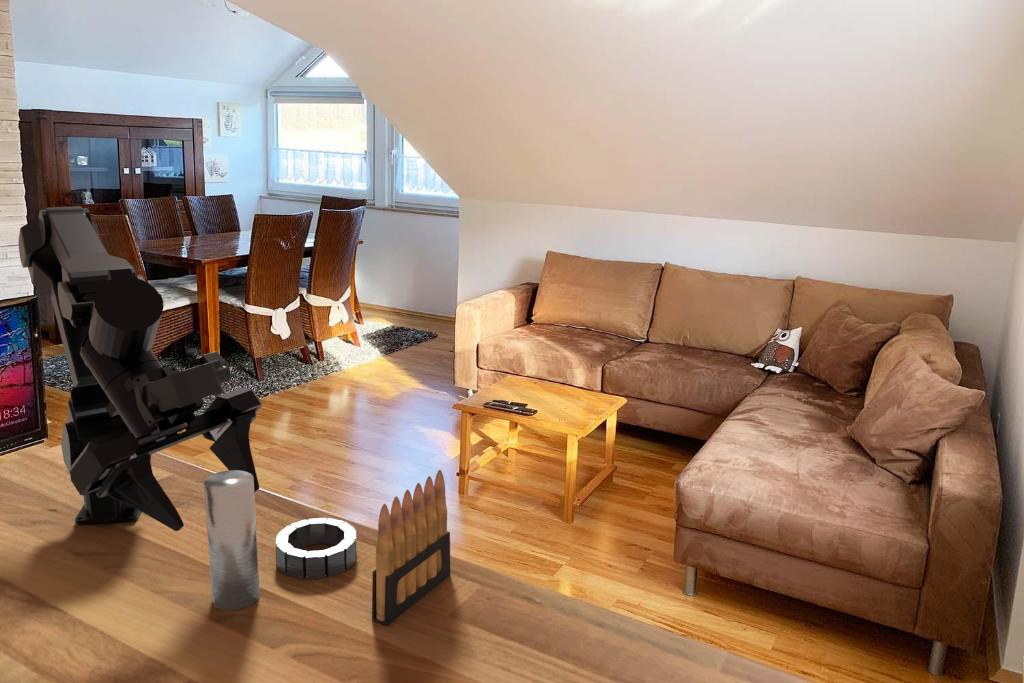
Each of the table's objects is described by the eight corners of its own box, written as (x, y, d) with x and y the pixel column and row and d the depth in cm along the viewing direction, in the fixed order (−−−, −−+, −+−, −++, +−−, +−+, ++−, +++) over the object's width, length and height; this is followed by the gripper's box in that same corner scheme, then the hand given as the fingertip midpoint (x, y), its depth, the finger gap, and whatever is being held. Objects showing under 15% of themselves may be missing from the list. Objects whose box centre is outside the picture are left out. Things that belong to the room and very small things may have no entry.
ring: (279, 540, 94) (279, 520, 93) (355, 536, 96) (355, 516, 95) (274, 581, 86) (273, 559, 86) (356, 575, 88) (356, 554, 87)
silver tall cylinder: (215, 586, 85) (207, 471, 82) (261, 583, 86) (255, 469, 82) (209, 612, 81) (200, 492, 77) (257, 608, 82) (250, 489, 78)
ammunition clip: (386, 627, 80) (386, 510, 76) (371, 620, 81) (369, 505, 77) (450, 575, 89) (452, 468, 85) (436, 569, 90) (437, 464, 86)
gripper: (75, 355, 72) (175, 507, 70) (244, 311, 87) (330, 435, 85) (30, 423, 78) (121, 566, 75) (196, 371, 93) (275, 488, 91)
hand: (220, 509), depth 82 cm, fingers open, 9 cm apart
